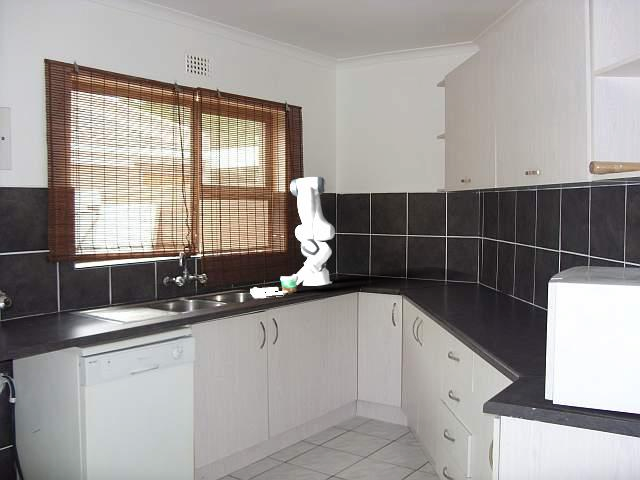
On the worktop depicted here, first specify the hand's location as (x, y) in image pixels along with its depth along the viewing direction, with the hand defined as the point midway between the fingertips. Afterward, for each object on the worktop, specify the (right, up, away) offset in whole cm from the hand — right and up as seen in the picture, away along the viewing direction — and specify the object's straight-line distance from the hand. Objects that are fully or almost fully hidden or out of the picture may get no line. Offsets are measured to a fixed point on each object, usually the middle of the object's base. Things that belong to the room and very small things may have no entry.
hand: (295, 284), depth 378 cm
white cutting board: (-16, -6, -3) cm, 18 cm away
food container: (-2, -5, 0) cm, 6 cm away
